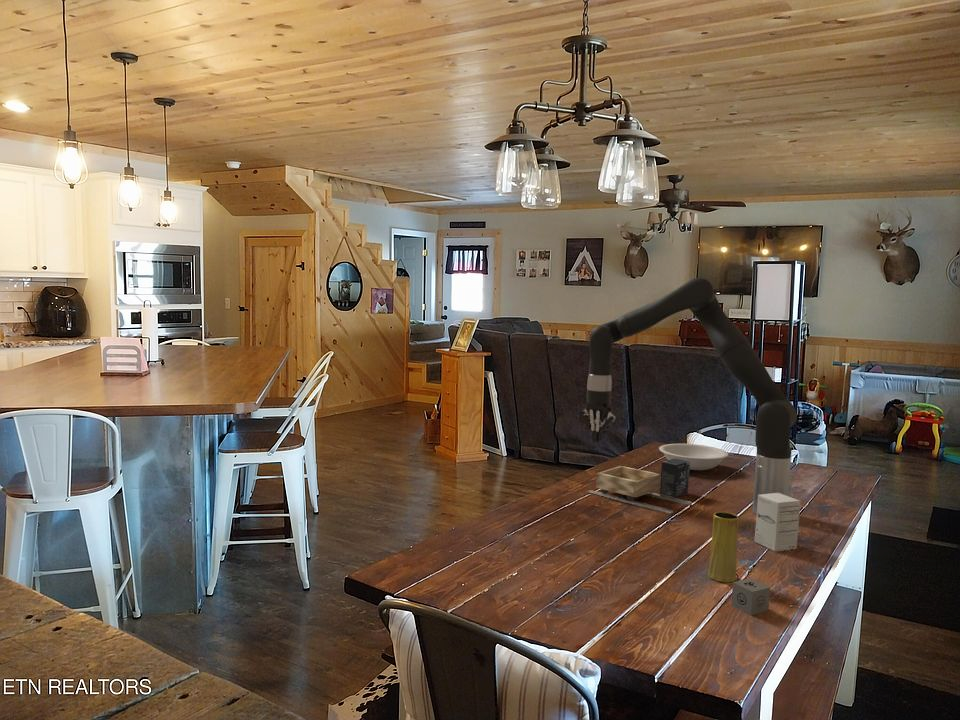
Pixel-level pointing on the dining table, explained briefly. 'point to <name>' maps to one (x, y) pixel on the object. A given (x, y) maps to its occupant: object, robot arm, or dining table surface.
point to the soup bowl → (695, 455)
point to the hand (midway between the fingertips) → (596, 442)
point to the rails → (644, 503)
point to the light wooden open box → (627, 481)
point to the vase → (724, 547)
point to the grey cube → (750, 596)
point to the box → (674, 477)
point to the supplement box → (777, 521)
